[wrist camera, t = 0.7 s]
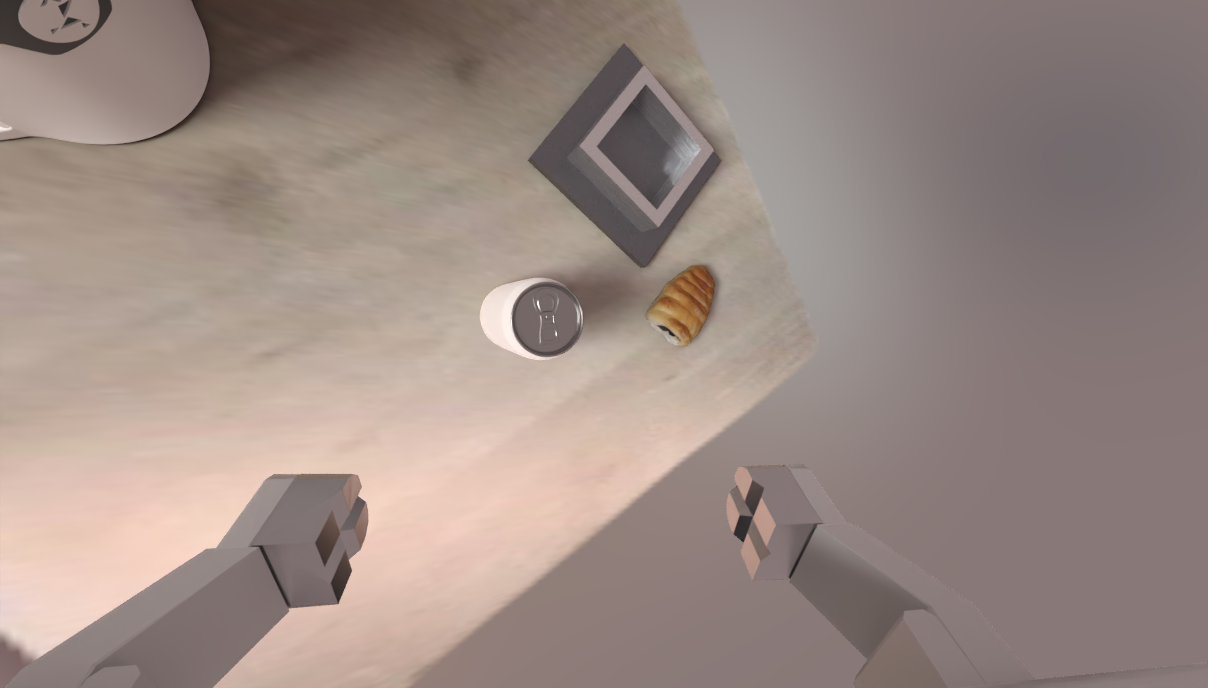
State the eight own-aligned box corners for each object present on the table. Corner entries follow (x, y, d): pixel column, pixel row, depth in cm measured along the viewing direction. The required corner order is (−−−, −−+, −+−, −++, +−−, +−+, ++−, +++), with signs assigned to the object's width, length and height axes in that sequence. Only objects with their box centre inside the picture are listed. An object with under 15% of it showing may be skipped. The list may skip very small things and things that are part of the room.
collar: (527, 160, 43) (540, 144, 39) (619, 48, 46) (640, 23, 42) (640, 267, 49) (661, 264, 45) (715, 162, 52) (741, 150, 48)
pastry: (680, 253, 51) (700, 249, 48) (717, 288, 54) (738, 287, 50) (637, 318, 50) (655, 319, 46) (677, 352, 52) (697, 355, 49)
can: (541, 281, 45) (586, 273, 34) (546, 345, 45) (591, 357, 34) (475, 285, 42) (500, 277, 31) (482, 352, 43) (509, 368, 32)
